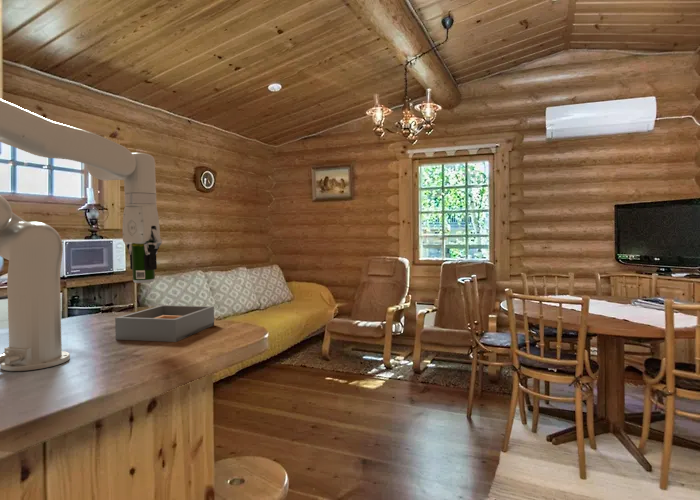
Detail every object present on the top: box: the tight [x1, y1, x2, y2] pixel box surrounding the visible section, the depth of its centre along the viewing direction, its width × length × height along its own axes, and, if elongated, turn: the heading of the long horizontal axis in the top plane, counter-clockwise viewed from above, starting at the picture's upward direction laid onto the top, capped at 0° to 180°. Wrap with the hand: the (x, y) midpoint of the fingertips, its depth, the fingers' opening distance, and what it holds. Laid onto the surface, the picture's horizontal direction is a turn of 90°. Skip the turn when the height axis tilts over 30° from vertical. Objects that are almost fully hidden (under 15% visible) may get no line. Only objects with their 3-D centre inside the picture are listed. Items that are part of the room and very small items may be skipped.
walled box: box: [114, 304, 215, 343], centre depth 129 cm, size 22×18×6 cm
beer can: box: [131, 241, 156, 284], centre depth 115 cm, size 5×5×12 cm
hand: (143, 268), depth 115 cm, fingers closed on beer can, 5 cm apart
